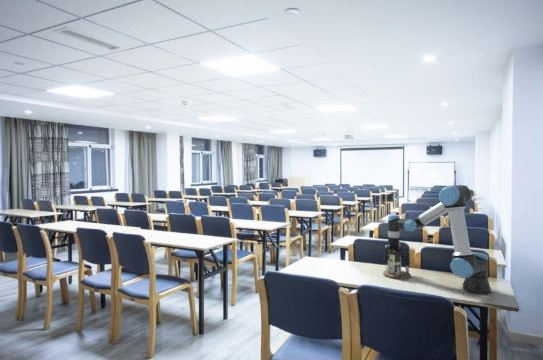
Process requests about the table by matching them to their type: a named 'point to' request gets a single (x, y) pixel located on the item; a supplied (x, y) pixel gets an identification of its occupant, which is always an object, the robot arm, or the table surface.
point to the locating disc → (398, 274)
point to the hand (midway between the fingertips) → (393, 268)
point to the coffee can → (394, 261)
